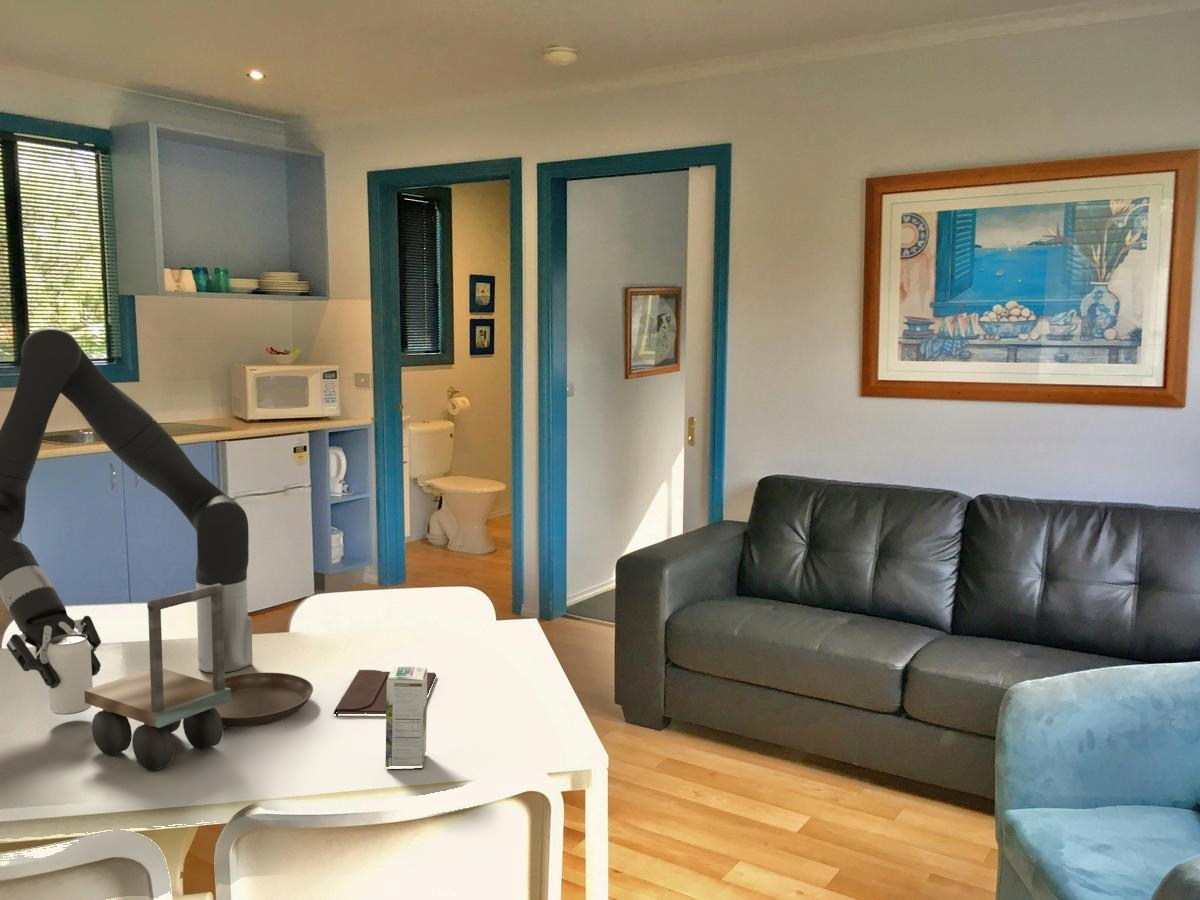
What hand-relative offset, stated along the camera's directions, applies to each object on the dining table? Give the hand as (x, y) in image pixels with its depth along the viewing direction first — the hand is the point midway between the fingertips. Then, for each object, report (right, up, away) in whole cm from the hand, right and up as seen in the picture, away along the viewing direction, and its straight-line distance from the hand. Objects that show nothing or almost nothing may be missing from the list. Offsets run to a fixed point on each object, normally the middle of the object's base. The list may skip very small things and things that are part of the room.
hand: (76, 678), depth 171 cm
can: (-2, -5, +2) cm, 6 cm away
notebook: (+48, -8, +17) cm, 52 cm away
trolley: (+17, -9, -9) cm, 21 cm away
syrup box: (+57, -11, -11) cm, 59 cm away
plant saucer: (+26, -8, +9) cm, 29 cm away
